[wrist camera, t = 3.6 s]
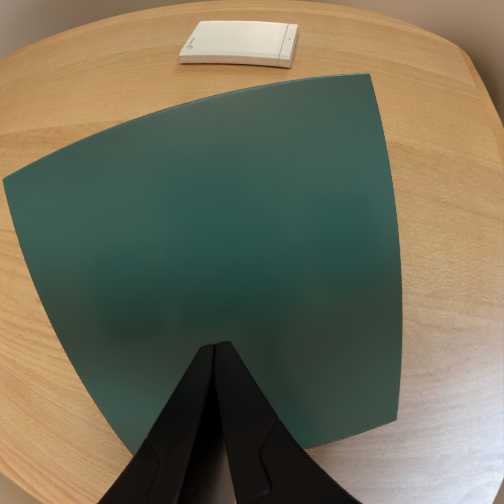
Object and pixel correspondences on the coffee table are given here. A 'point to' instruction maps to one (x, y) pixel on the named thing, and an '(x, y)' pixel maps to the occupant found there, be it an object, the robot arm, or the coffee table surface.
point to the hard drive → (241, 43)
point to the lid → (226, 254)
